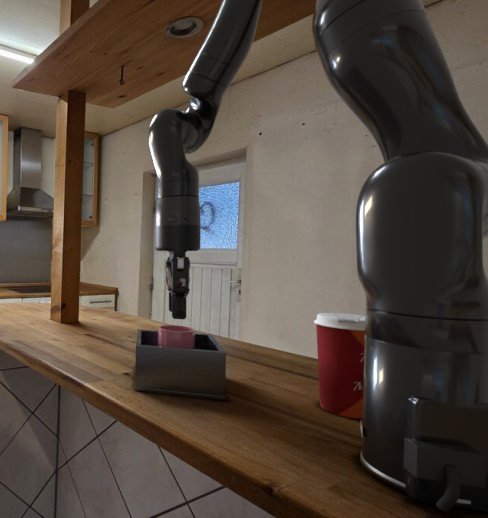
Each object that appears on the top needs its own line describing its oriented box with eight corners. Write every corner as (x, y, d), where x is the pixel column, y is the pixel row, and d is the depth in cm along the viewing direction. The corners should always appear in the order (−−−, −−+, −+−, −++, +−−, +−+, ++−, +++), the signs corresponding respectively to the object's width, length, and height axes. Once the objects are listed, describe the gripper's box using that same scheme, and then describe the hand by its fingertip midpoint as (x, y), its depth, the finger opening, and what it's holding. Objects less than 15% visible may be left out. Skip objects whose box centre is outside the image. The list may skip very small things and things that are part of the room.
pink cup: (195, 385, 63) (196, 333, 63) (158, 381, 65) (159, 330, 65) (191, 374, 69) (192, 326, 69) (157, 371, 71) (157, 324, 70)
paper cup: (383, 427, 50) (386, 323, 49) (311, 412, 54) (314, 316, 54) (375, 408, 56) (378, 315, 56) (311, 395, 61) (313, 310, 60)
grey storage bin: (225, 400, 58) (226, 352, 58) (135, 390, 62) (135, 345, 62) (210, 373, 71) (211, 334, 71) (136, 366, 75) (137, 329, 75)
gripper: (206, 220, 58) (206, 323, 59) (195, 226, 72) (194, 310, 72) (156, 221, 61) (155, 320, 61) (154, 227, 74) (153, 308, 74)
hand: (176, 315), depth 66 cm, fingers open, 8 cm apart
